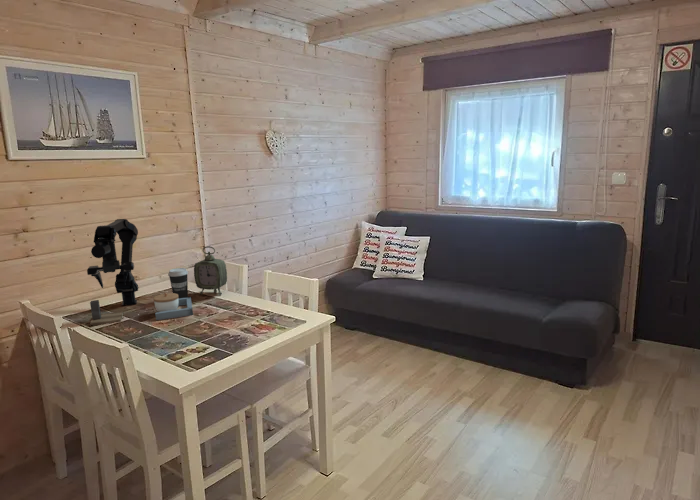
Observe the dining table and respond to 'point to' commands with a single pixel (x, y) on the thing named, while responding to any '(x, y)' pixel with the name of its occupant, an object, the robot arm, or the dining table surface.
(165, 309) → the lidded jar
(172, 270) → the coffee cup
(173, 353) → the dining table surface
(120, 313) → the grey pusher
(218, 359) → the dining table surface
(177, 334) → the dining table surface
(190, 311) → the slate frame
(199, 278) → the tabletop clock
